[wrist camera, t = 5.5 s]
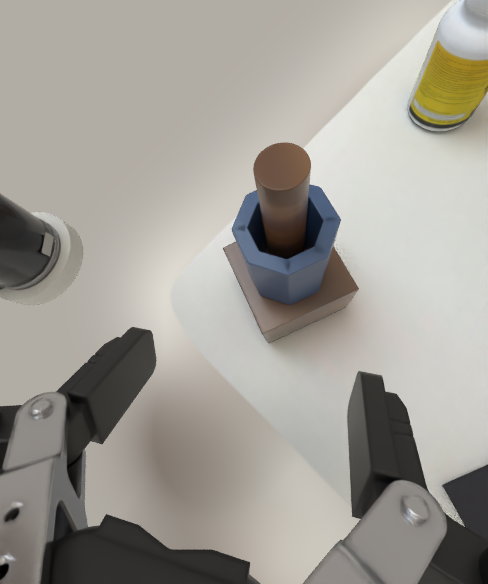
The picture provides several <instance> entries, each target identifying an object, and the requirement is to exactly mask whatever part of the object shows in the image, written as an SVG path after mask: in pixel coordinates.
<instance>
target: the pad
mask: <svg viewBox="0 0 488 584" xmlns="http://www.w3.org/2000/svg"><path fill="white" fill-rule="evenodd" d="M443 487H444V489H445V491H446V492H447V494H448V496H449V498H450V500H451V501H452V503H453V505H454V507H455V508H456V510H457V512H458V514H459V515H460V517H461V519H462V521H463V522H464V524H465V526H466V528H467V529H469V530H471V531H472V532H474V533H476V534H478V535H479V536H481V537H483V538H485V539H486V540H488V465H486V466H484V467H482V468H480V469H477V470H475V471H473V472H471V473H469V474H466V475H464V476H462V477H460V478H457V479H455V480H453V481H451V482H448V483H446V484H444V485H443Z"/></svg>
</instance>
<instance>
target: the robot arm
mask: <svg viewBox="0 0 488 584" xmlns="http://www.w3.org/2000/svg"><path fill="white" fill-rule="evenodd" d="M60 248H61V243H60V237H59V235H58V232H57V231H56V229H55V228H54V227H53V226H51V225H50V224H49V223H47V222H45V221H44V220H42V219H39V218H38V217H36V216H35V215H33V214H31V213H30V212H28V211H27V210H25V209H24V208H22V207H21V206H19V205H18V204H16V203H14V202H13V201H11V200H10V199H8V198H7V197H5V196H3V195H2V194H0V290H2V289H4V288H7V289H10V290H24V289H28V288H31V287H33V286H35V285H37V284H38V283H40V282H41V281H42V280H44V279H45V278H46V277H47V276H48V275H49V273H50V272H51V271H52V270H53V268H54V266H55V265H56V263H57V260H58V258H59V254H60ZM155 366H156V354H155V348H154V341H153V334H152V332H151V331H150V330H145V329H140V328H135V327H132V328H130V329H129V330H128V331H127V332H126V333H125V334H124V335H123V336H122V337H121V338H119V337H117V338H115V339H113V340H111V341H109V342H108V343H106V344H104V345H103V346H102V347H101V348H100V349H99V350H98V351H97V352H96V353H95V355H93V356H92V357H91V358H90V359H89V360H88V362H87V363H85V364H84V365H83V366H82V367H81V368H80V369H79V370H78V371H77V372H76V373H75V374H74V375H73V376H72V377H71V378H70V379H69V380H68V381H67V382H65V384H63V385H62V386H61V388H59V389H58V391H56V392H47V393H43V394H40V395H37V396H35V397H33V398H32V399H30V400H28V401H27V402H26V403H24V404H23V405H16V406H0V584H260V583H259V582H258V581H257V580H256V579H254V578H253V577H252V576H251V575H249V568H250V562H247V561H244V560H241V559H238V558H235V557H232V556H229V555H226V554H223V553H220V552H218V551H215V550H171V549H169V548H167V547H166V546H164V545H163V544H162V543H161V542H159V541H158V540H157V539H156V538H154V537H153V536H152V535H151V534H149V533H148V532H147V531H145V530H144V529H143V528H142V527H140V526H139V525H137V524H134V523H131V522H128V521H125V520H122V519H119V518H116V517H113V516H110V515H107V514H106V516H105V517H104V519H103V521H102V522H101V524H100V526H92V527H88V525H87V517H86V513H85V467H86V464H85V463H86V451H85V448H86V446H87V445H88V444H89V442H90V441H92V442H96V443H99V444H103V443H104V441H105V439H106V438H107V437H108V436H109V434H110V433H111V431H112V430H113V428H114V427H115V426H116V424H117V423H118V421H119V420H120V419H121V417H122V416H123V414H124V413H125V412H126V410H127V409H128V407H129V406H130V405H131V403H132V402H133V400H134V399H135V398H136V396H137V395H138V393H139V392H140V391H141V389H142V388H143V386H144V385H145V384H146V382H147V381H148V379H149V378H150V377H151V375H152V374H153V372H154V369H155ZM347 419H348V440H349V461H350V482H351V502H352V517H356V518H359V519H361V520H360V521H359V522H358V523H357V525H356V526H355V527H354V528H353V529H352V531H351V532H350V533H349V534H348V536H347V537H346V538H345V539H344V540H340V541H339V542H338V543H337V544H336V545H335V546H334V547H333V548H332V549H331V550H330V552H329V553H328V554H327V555H326V556H325V557H324V559H323V560H322V561H321V562H320V563H319V565H318V566H317V567H316V568H315V570H314V571H313V572H312V573H311V574H310V575H309V577H308V578H307V579H306V580H305V582H304V583H303V584H488V540H486V539H485V538H483V537H481V536H479V535H478V534H476V533H474V532H472V531H471V530H469V529H467V528H465V527H464V526H462V525H460V524H459V523H457V522H456V521H454V520H453V519H451V518H450V517H449V516H448V515H447V514H446V513H444V512H443V510H442V508H441V506H440V505H439V503H438V502H437V500H436V499H435V498H434V497H433V496H432V495H431V494H430V493H429V491H428V489H427V486H426V482H425V479H424V475H423V471H422V467H421V463H420V459H419V455H418V451H417V447H416V443H415V439H414V437H413V432H412V428H411V425H410V420H409V416H408V412H407V408H406V406H405V405H404V404H403V402H402V401H401V399H400V398H399V397H398V395H397V394H394V393H389V392H385V388H384V382H383V378H382V376H381V375H377V374H372V373H366V372H361V371H359V372H358V373H357V376H356V380H355V383H354V386H353V390H352V393H351V397H350V400H349V405H348V415H347Z"/></svg>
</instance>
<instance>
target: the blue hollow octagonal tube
mask: <svg viewBox="0 0 488 584" xmlns="http://www.w3.org/2000/svg"><path fill="white" fill-rule="evenodd" d="M340 221H341V219H340V217H339V216H338V214H337V213H336V211H335V209H334V208H333V206H332V205H331V203H330V201H329V200H328V198H327V197H326V195H325V194H324V192H323V190H322V189H321V188H320V187H318V186H314V185H309V195H308V207H307V219H306V231H305V243H304V247H305V248H306V251H304V252H302V253H300V254H298V255H295V256H293V257H291V258H289V259H284V258H281V257H277V256H274V255H270V254H267V253H266V252H267V250H268V245H267V240H266V235H265V230H264V224H263V219H262V214H261V208H260V203H259V198H258V193H257V190H256V191H254V192H252V193H250V194H248V195H246V196H245V199H244V201H243V204H242V206H241V208H240V211H239V213H238V215H237V218H236V220H235V222H234V225H233V227H232V232H233V235H234V237H235V239H236V242H237V244H238V247H239V249H240V252H241V254H242V257H243V259H244V262H245V264H246V266H247V269H248V271H249V273H250V275H251V277H252V280H253V282H254V284H255V286H256V288H257V290H258V292H259V294H260V295H261V296H263V297H266V298H269V299H272V300H275V301H278V302H281V303H284V304H287V305H292V304H294V303H296V302H298V301H300V300H302V299H304V298H307V297H309V296H311V295H313V294H315V293H317V292H318V291H319V289H320V286H321V283H322V280H323V277H324V274H325V271H326V268H327V265H328V262H329V258H330V255H331V251H332V248H333V245H334V241H335V238H336V234H337V231H338V228H339V224H340Z"/></svg>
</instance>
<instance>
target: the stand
mask: <svg viewBox="0 0 488 584" xmlns="http://www.w3.org/2000/svg"><path fill="white" fill-rule="evenodd" d="M310 170H311V162H310V158H309V156H308V154H307V153H306V151H305V150H304V149H302V148H301V147H299V146H298V145H295V144H292V143H277V144H274V145H271V146H269V147H267V148H266V149H264V150H263V151H262V152H261V153H260V154H259V155H258V157H257V158H256V161H255V163H254V176H255V182H256V187H257V193H258V198H259V203H260V208H261V214H262V219H263V224H264V230H265V235H266V240H267V245H268V250H267V252H266V253H267V254H270V255H274V256H277V257H281V258H284V259H289V258H291V257H293V256H295V255H298V254H300V253H302V252H304V251H306V248H305V247H304V243H305V231H306V219H307V207H308V195H309V182H310ZM223 250H224V252H225V254H226V256H227V258H228V260H229V263H230V265H231V267H232V269H233V271H234V273H235V276H236V278H237V280H238V282H239V284H240V286H241V289H242V291H243V293H244V295H245V297H246V299H247V302H248V304H249V306H250V308H251V310H252V312H253V315H254V317H255V319H256V321H257V323H258V326H259V328H260V330H261V332H262V334H263V335H264V337H265V339H266V340H267V342H268V343H270V342H272V341H275V340H277V339H279V338H281V337H283V336H285V335H288V334H290V333H292V332H294V331H296V330H298V329H300V328H303V327H305V326H307V325H309V324H311V323H313V322H315V321H318V320H320V319H322V318H324V317H326V316H328V315H330V314H333V313H335V312H337V311H339V310H341V309H343V308H346V306H347V305H348V303H349V302H350V301H351V299H352V298H353V296H354V295H355V294H356V292H357V291H358V289H359V288H358V287H357V285H356V283H355V282H354V280H353V278H352V277H351V275H350V273H349V272H348V270H347V268H346V267H345V265H344V263H343V262H342V260H341V258H340V257H339V255H338V253H337V252H336V250H335V248H334V247H333V248H332V251H331V255H330V258H329V262H328V265H327V268H326V271H325V274H324V277H323V280H322V283H321V286H320V289H319V291H318V292H317V293H315V294H313V295H311V296H309V297H307V298H304V299H302V300H300V301H298V302H296V303H294V304H292V305H287V304H284V303H281V302H278V301H275V300H272V299H269V298H266V297H263V296H261V295H260V294H259V292H258V290H257V288H256V286H255V284H254V282H253V280H252V277H251V275H250V273H249V271H248V269H247V266H246V264H245V262H244V259H243V257H242V254H241V252H240V249H239V247H238V244H237V242H234V243H232V244H230V245H228V246H226V247H224V248H223Z"/></svg>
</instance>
